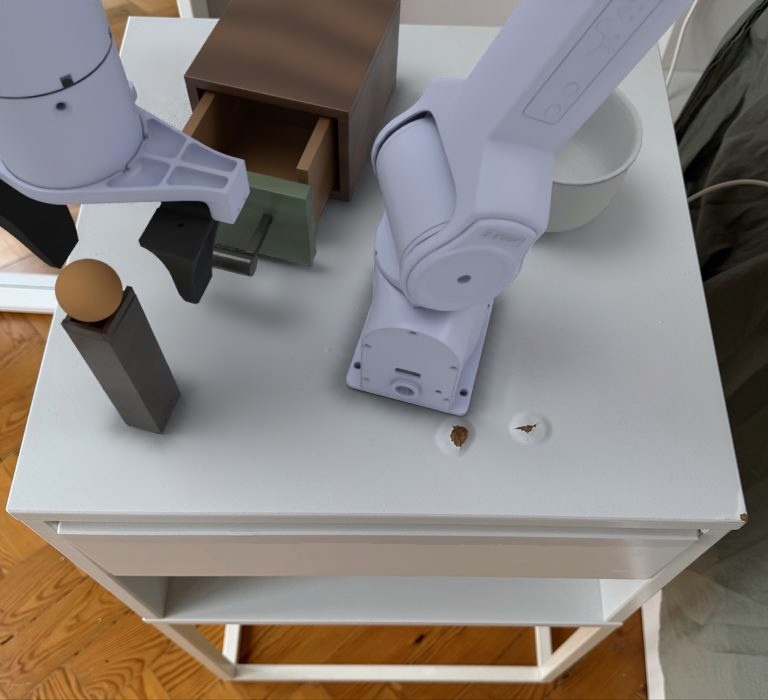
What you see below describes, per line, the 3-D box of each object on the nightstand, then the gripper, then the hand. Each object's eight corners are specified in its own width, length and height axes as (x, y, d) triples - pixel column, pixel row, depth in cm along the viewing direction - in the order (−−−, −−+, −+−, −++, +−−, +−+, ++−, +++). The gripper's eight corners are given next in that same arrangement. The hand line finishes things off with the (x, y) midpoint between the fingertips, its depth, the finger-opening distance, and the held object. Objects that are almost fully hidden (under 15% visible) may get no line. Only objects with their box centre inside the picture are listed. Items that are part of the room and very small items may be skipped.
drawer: (288, 321, 48) (279, 257, 42) (143, 284, 49) (114, 217, 44) (361, 143, 57) (362, 70, 51) (236, 115, 58) (223, 40, 52)
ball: (113, 340, 35) (94, 305, 32) (56, 325, 35) (32, 289, 33) (140, 291, 36) (123, 254, 34) (85, 277, 37) (64, 239, 34)
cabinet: (349, 202, 55) (348, 112, 47) (205, 168, 56) (182, 75, 49) (396, 85, 62) (401, -9, 54) (266, 58, 63) (254, -38, 56)
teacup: (605, 154, 58) (639, 71, 51) (614, 262, 53) (652, 184, 46) (432, 138, 59) (442, 52, 52) (423, 243, 53) (432, 163, 46)
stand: (161, 434, 45) (105, 335, 35) (125, 424, 45) (60, 323, 35) (181, 393, 46) (133, 286, 36) (146, 383, 47) (89, 275, 37)
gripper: (258, 19, 28) (287, 245, 39) (-81, -52, 29) (43, 185, 41) (183, 146, 24) (239, 352, 36) (-198, 57, 26) (-26, 282, 37)
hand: (131, 270), depth 38 cm, fingers open, 7 cm apart
